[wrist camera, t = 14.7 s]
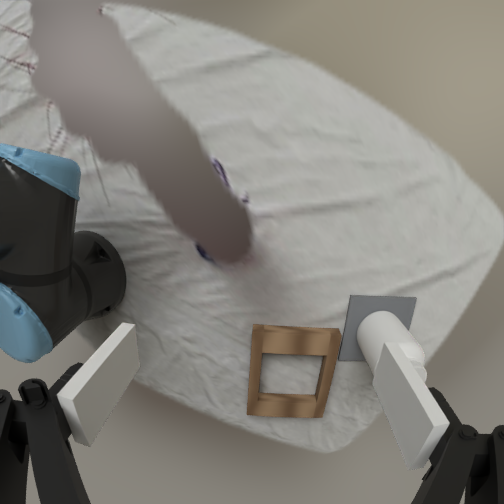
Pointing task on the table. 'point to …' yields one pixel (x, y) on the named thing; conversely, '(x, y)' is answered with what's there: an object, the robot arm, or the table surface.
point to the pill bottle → (388, 340)
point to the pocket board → (298, 344)
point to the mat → (365, 307)
